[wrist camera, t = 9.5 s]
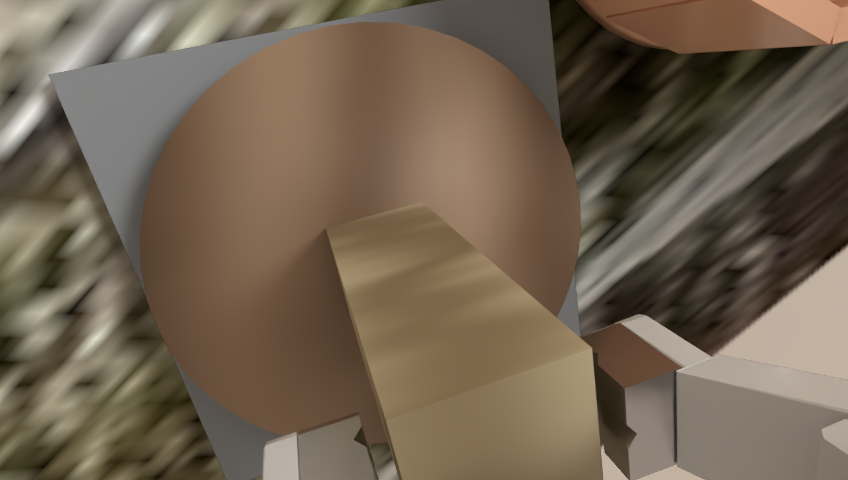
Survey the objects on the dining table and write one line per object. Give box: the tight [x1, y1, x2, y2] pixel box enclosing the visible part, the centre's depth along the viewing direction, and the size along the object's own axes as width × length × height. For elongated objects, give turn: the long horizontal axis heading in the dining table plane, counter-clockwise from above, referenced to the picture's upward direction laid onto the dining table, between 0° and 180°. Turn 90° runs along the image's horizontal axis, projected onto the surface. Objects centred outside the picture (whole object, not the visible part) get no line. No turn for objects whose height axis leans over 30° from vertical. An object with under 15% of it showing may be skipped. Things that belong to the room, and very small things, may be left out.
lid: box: [140, 22, 603, 480], centre depth 12 cm, size 14×14×10 cm
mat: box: [48, 0, 580, 480], centre depth 17 cm, size 14×14×1 cm
